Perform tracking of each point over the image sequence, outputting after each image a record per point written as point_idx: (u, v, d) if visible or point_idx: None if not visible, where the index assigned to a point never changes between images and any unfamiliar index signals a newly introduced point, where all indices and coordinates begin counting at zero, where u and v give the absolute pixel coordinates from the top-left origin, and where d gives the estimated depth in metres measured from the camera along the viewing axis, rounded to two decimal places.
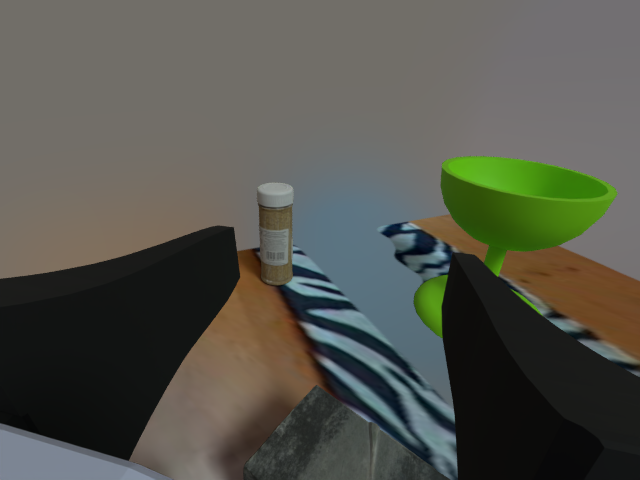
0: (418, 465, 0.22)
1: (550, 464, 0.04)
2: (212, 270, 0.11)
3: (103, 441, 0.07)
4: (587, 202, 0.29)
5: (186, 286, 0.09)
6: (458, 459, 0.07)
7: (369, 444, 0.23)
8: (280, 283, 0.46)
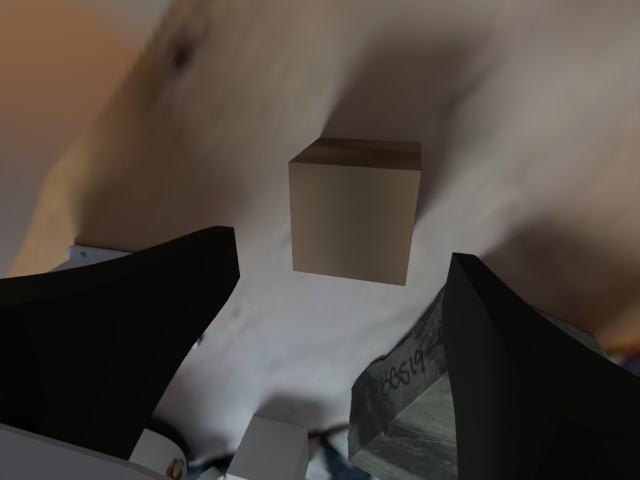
0: None
1: (550, 463, 0.04)
2: (212, 270, 0.11)
3: (103, 441, 0.07)
4: None
5: (186, 286, 0.09)
6: (458, 459, 0.07)
7: None
8: None
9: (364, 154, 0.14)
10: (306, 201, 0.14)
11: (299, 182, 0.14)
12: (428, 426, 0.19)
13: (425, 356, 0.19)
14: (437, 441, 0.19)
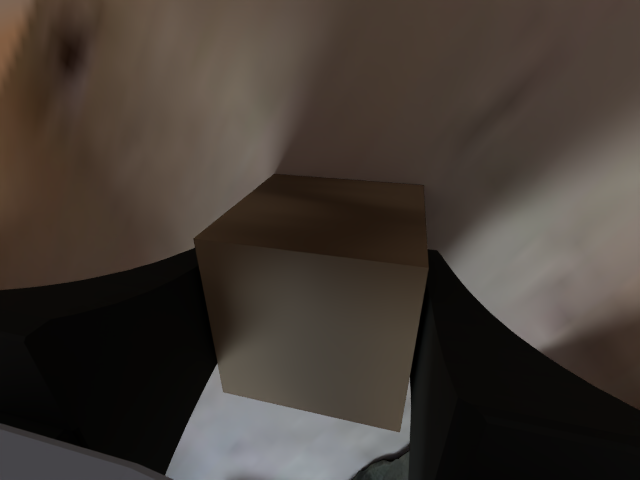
0: None
1: (452, 441, 0.04)
2: None
3: (144, 453, 0.07)
4: None
5: None
6: (410, 447, 0.08)
7: None
8: None
9: (332, 215, 0.09)
10: (231, 300, 0.08)
11: (215, 271, 0.08)
12: None
13: None
14: None
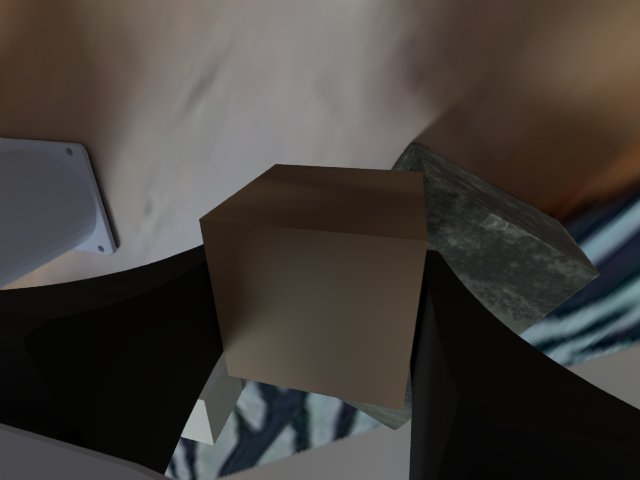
0: None
1: (453, 441, 0.04)
2: None
3: (143, 453, 0.07)
4: None
5: None
6: (411, 448, 0.08)
7: None
8: None
9: (333, 198, 0.09)
10: (236, 281, 0.08)
11: (220, 251, 0.08)
12: None
13: None
14: None
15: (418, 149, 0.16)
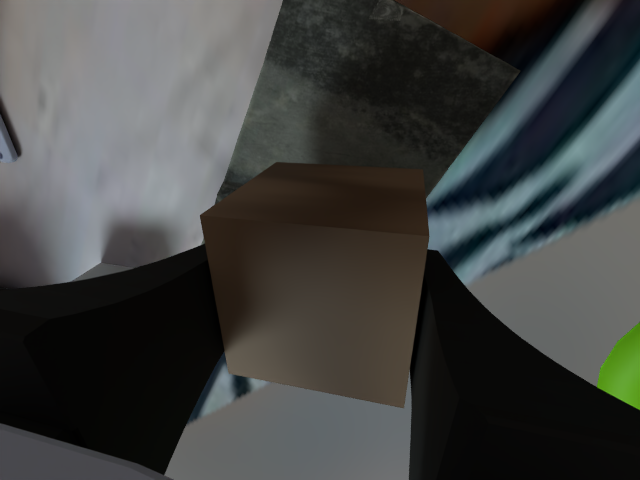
0: None
1: (453, 442, 0.04)
2: None
3: (144, 453, 0.07)
4: None
5: None
6: (410, 448, 0.08)
7: None
8: None
9: (334, 195, 0.09)
10: (237, 277, 0.08)
11: (221, 247, 0.08)
12: None
13: None
14: None
15: None
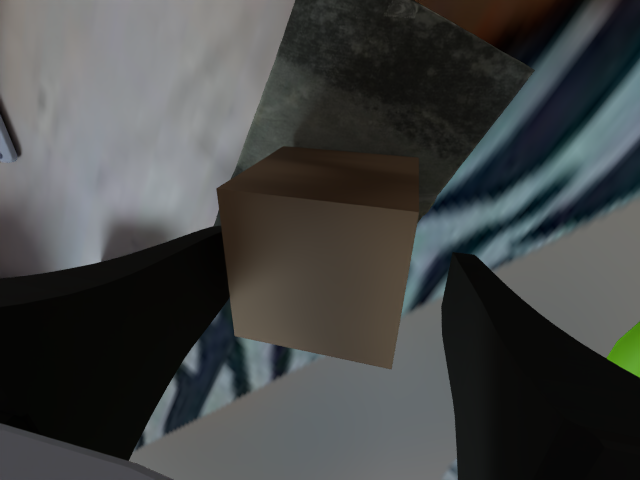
0: None
1: (550, 463, 0.04)
2: (212, 270, 0.11)
3: (103, 441, 0.07)
4: None
5: (186, 286, 0.09)
6: (458, 459, 0.07)
7: None
8: None
9: (336, 176, 0.10)
10: (247, 246, 0.09)
11: (234, 218, 0.09)
12: None
13: None
14: None
15: None
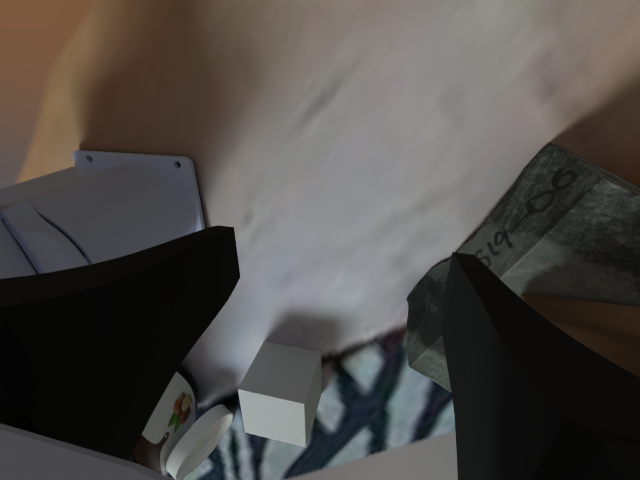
0: None
1: (550, 463, 0.04)
2: (212, 270, 0.11)
3: (103, 441, 0.07)
4: None
5: (186, 286, 0.09)
6: (458, 459, 0.07)
7: None
8: None
9: (622, 349, 0.13)
10: None
11: None
12: None
13: (511, 232, 0.17)
14: None
15: (563, 150, 0.16)
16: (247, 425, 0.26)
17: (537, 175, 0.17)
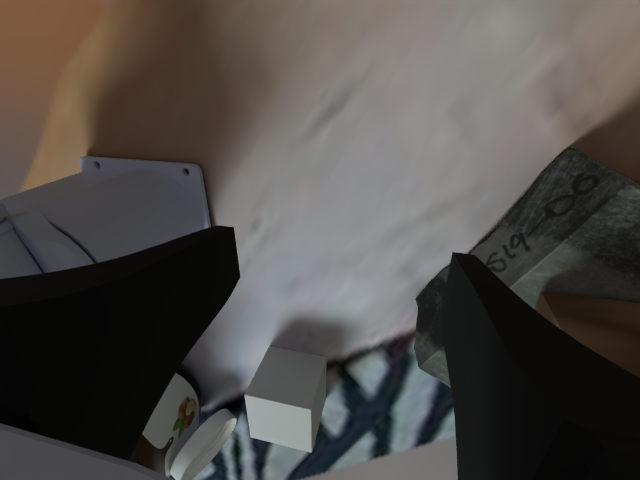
0: None
1: (551, 463, 0.04)
2: (212, 270, 0.11)
3: (103, 441, 0.07)
4: None
5: (186, 286, 0.09)
6: (458, 459, 0.07)
7: None
8: None
9: None
10: None
11: None
12: None
13: (529, 235, 0.17)
14: None
15: (583, 155, 0.16)
16: (253, 430, 0.27)
17: (556, 179, 0.17)
